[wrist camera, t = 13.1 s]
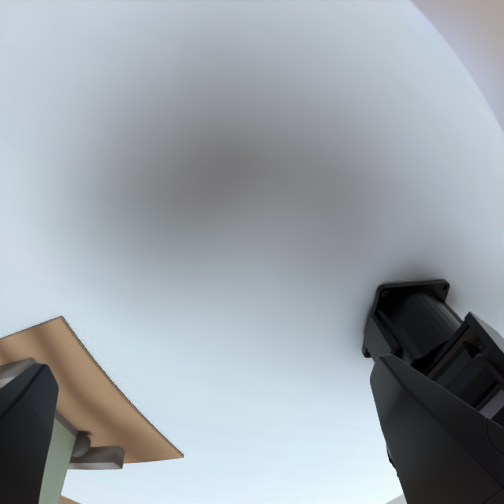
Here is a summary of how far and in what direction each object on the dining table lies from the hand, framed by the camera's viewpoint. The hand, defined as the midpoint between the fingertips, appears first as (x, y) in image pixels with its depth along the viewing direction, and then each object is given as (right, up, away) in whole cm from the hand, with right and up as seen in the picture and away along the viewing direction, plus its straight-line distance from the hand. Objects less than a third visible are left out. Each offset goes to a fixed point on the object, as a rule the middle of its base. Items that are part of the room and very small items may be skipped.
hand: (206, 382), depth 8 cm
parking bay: (-19, -13, +18) cm, 29 cm away
